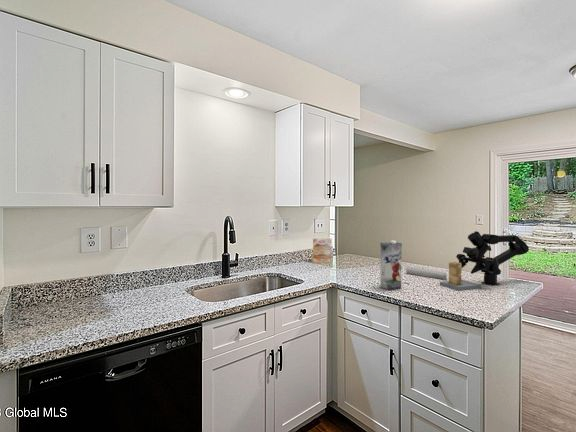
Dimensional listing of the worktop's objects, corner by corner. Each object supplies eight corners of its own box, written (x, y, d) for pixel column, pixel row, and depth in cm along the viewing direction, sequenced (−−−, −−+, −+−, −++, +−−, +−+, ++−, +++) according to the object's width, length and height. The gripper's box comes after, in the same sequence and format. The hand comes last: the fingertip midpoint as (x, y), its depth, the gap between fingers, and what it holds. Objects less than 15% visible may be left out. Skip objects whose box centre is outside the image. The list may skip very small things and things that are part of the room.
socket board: (461, 282, 183) (461, 279, 183) (480, 288, 171) (480, 284, 171) (439, 285, 179) (439, 281, 179) (458, 290, 166) (458, 287, 166)
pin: (454, 286, 176) (455, 261, 176) (461, 287, 172) (461, 263, 172) (448, 286, 175) (448, 262, 175) (455, 288, 171) (455, 263, 170)
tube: (448, 272, 194) (410, 266, 212) (445, 271, 191) (406, 265, 209) (447, 281, 193) (408, 274, 211) (444, 279, 190) (405, 273, 208)
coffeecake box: (313, 262, 252) (312, 239, 251) (313, 261, 259) (313, 238, 258) (331, 263, 249) (331, 239, 249) (331, 261, 256) (331, 238, 256)
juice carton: (378, 287, 175) (378, 240, 174) (392, 285, 179) (392, 239, 179) (388, 291, 167) (389, 241, 166) (403, 288, 171) (404, 240, 170)
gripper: (458, 240, 185) (443, 259, 182) (486, 243, 167) (470, 265, 164) (468, 252, 188) (454, 271, 185) (497, 257, 170) (481, 278, 167)
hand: (464, 271), depth 175 cm, fingers open, 9 cm apart
